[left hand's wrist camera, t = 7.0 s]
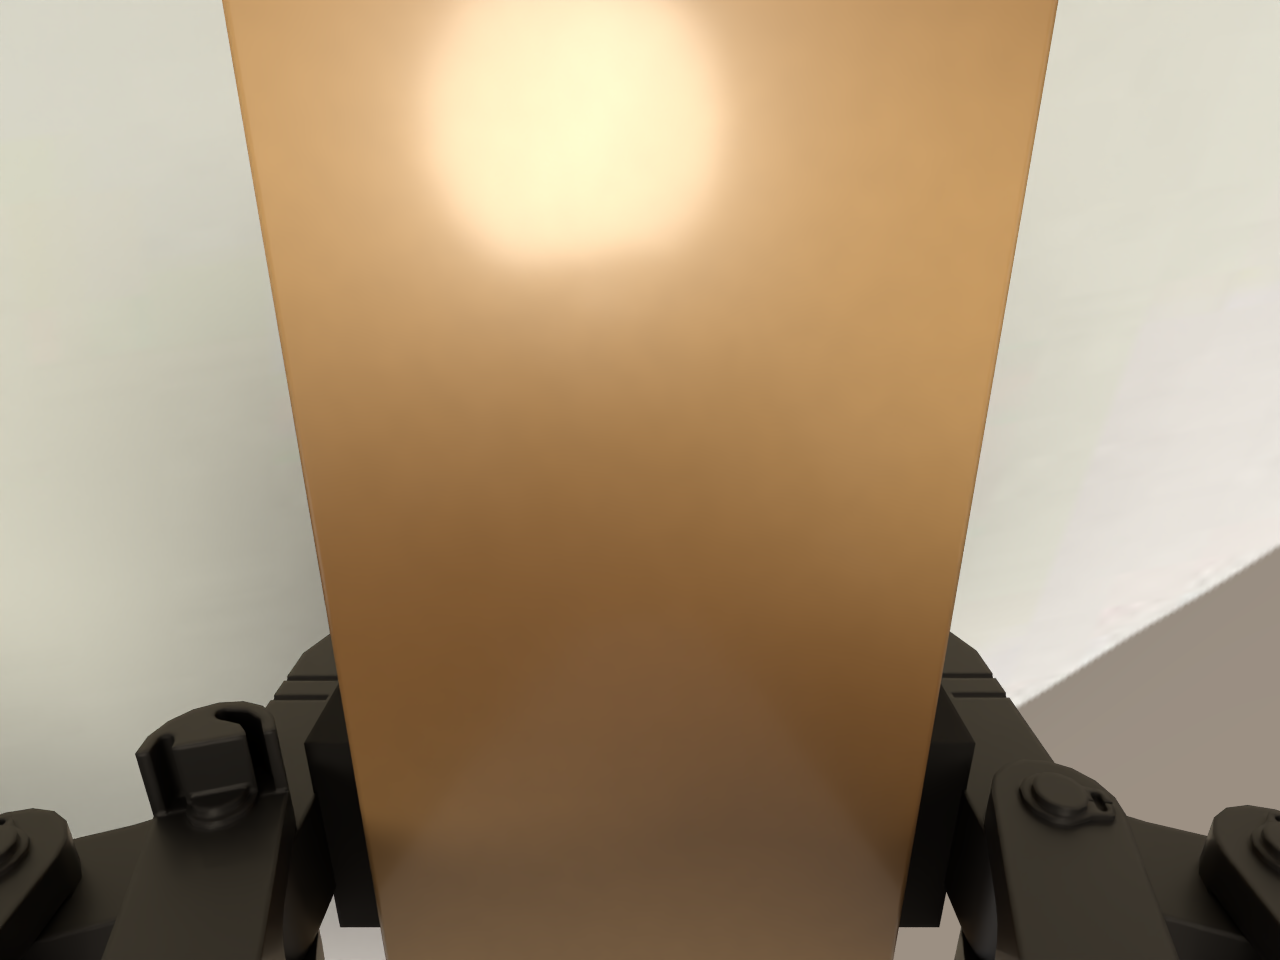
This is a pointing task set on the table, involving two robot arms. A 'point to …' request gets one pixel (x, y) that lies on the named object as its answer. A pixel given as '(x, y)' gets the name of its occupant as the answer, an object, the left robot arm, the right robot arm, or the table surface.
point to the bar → (639, 440)
